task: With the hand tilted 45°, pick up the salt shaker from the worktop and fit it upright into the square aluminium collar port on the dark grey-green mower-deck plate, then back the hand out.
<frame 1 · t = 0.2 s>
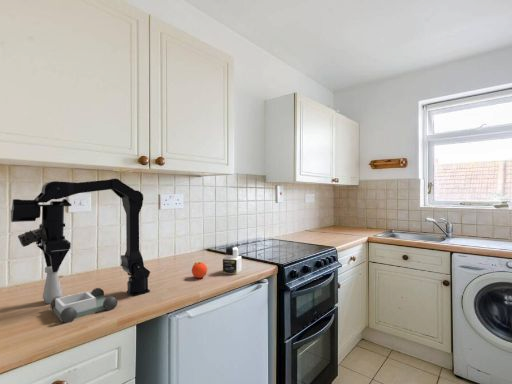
hand: (51, 269, 91), 15 cm above the counter, tool pointing down, fingers open, 9 cm apart
clementine: (198, 277, 129), on the counter
mower deck: (75, 311, 93), on the counter
salt shaker: (52, 301, 102), on the counter
medicine bottle: (232, 272, 137), on the counter
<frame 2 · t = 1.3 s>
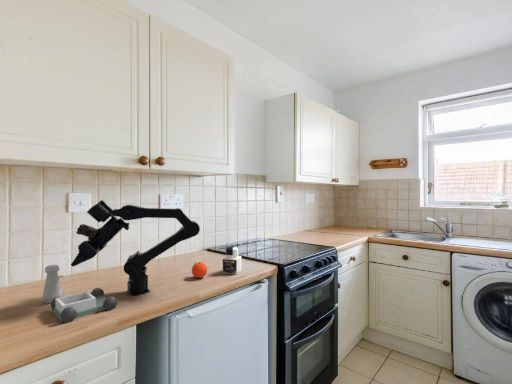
hand: (75, 262, 104), 13 cm above the counter, tool tilted 45°, fingers open, 9 cm apart
nothing on the counter moved.
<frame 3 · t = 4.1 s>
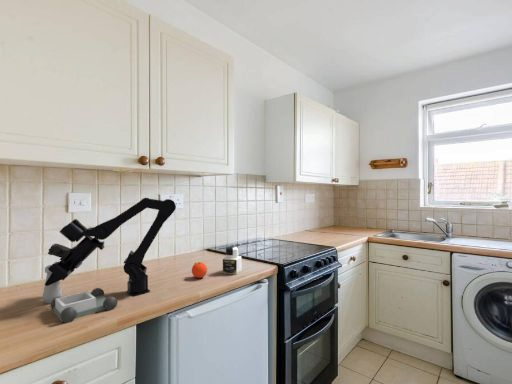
hand: (47, 283, 101), 7 cm above the counter, tool tilted 45°, fingers closed on salt shaker, 3 cm apart
salt shaker: (52, 301, 102), on the counter, touching gripper
everything else where it was.
when the fingers open (9 cm above the counter, at t = 8.2 s): salt shaker stays where it is, resting on mower deck.
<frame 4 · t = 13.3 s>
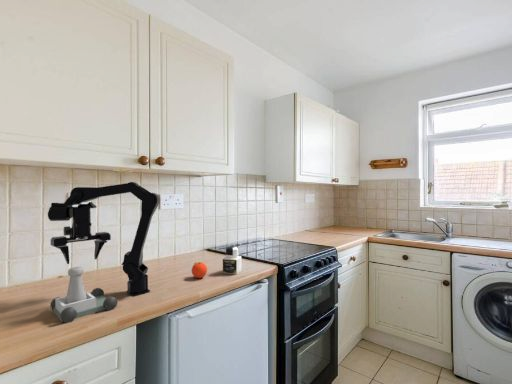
hand: (82, 261, 107), 13 cm above the counter, tool pointing down, fingers open, 9 cm apart
salt shaker: (76, 307, 93), point 1 cm above the counter, touching mower deck
everything else where it was.
at the end: salt shaker 0.2 cm off-centre on the mower deck, point 1.3 cm above the mower deck's base; salt shaker tilted 0°; the gripper is holding nothing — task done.
